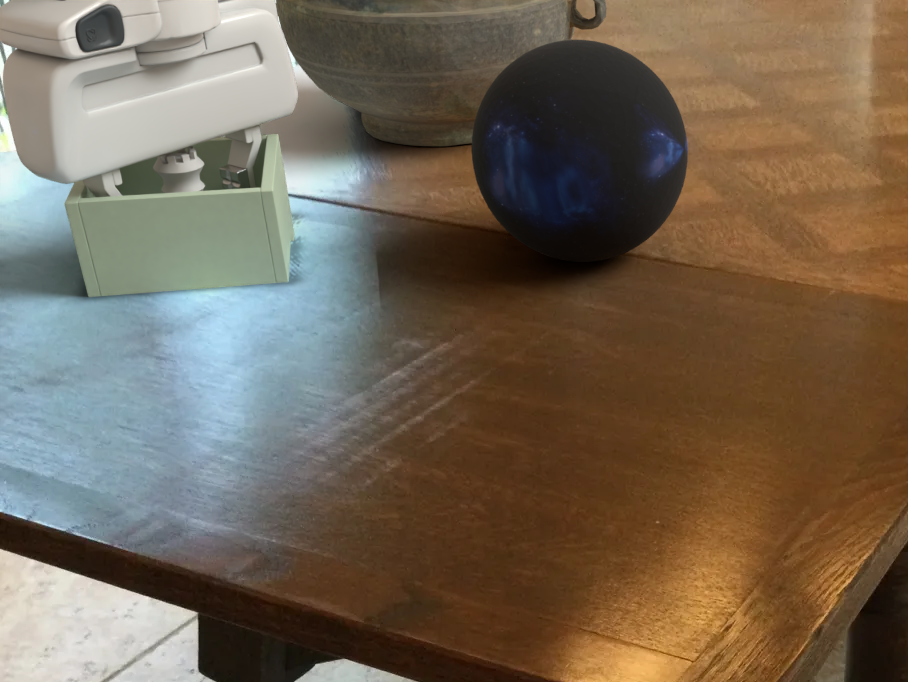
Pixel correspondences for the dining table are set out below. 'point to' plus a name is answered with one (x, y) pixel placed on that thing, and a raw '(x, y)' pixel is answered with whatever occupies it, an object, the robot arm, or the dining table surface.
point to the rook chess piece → (180, 171)
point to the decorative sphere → (579, 150)
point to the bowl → (420, 56)
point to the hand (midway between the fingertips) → (187, 210)
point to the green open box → (185, 228)
